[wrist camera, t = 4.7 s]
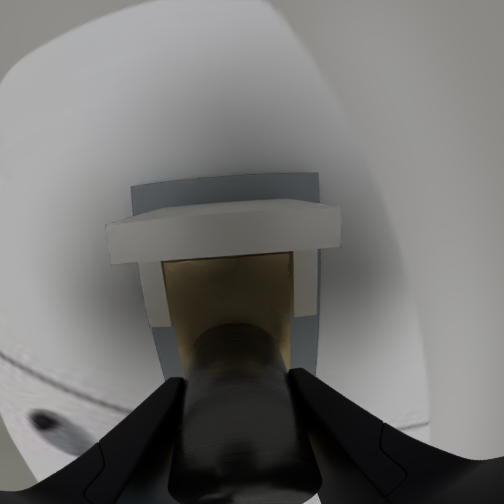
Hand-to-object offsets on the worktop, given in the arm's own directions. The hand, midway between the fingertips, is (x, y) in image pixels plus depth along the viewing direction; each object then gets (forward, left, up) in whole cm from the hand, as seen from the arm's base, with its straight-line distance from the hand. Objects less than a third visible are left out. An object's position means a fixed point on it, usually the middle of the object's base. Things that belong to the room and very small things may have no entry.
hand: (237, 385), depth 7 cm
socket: (+3, 0, -8) cm, 8 cm away
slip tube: (-3, 0, -5) cm, 6 cm away
